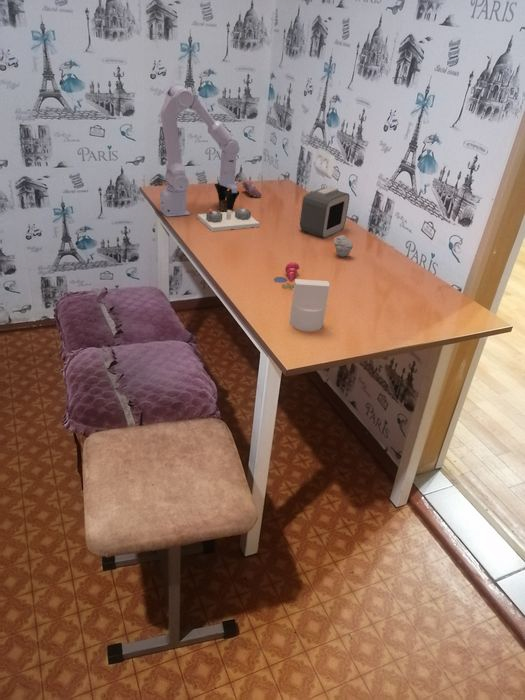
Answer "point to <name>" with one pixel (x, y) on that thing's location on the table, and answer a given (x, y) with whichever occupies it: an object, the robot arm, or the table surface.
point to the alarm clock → (324, 211)
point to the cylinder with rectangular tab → (309, 304)
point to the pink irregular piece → (251, 189)
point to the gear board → (228, 220)
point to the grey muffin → (342, 245)
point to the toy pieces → (291, 273)
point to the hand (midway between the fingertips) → (225, 205)
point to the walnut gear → (223, 205)
